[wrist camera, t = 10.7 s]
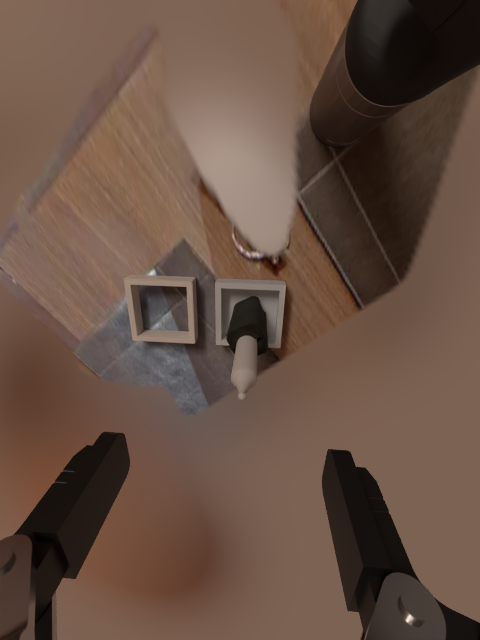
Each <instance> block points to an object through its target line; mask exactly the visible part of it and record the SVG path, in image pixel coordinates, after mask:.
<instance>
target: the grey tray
mask: <svg viewBox="0 0 480 640" xmlns="http://www.w3.org/2000/svg"><path fill="white" fill-rule="evenodd" d="M285 292H286V283H285V281H277V280H252V279H226V278H218V279H217V280H216V282H215V304H216V345H228V346H230V345H229V344H228V342H227V340H226V336H227V332H228V328H229V324H230V321H231V317H232V313H233V309H234V306H235V304H236V303H238V302H240V301H242V300H244V299H247V298H249V297H251V296H256V297H258V298H259V300H260V304H261V306H262V308H263V310H264V312H266V319H267V335H268V348H280V347H281V336H282V325H283V314H284V303H285Z"/></svg>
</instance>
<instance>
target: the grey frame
mask: <svg viewBox="0 0 480 640" xmlns="http://www.w3.org/2000/svg"><path fill="white" fill-rule="evenodd" d="M124 284H125V291H126V297H127V304H128V311H129V318H130V325H131V332H132V339H133V341H152V342H171V343H190V344H195V343H196V340H197V338H198V317H197V293H196V277H175V276H150V275H130V276H128V277H126V278H124ZM138 285H153V286H178V287H187V303H188V322H189V332H184V331H164V330H145V329H143V321H142V313H141V305H140V297H139V289H138Z"/></svg>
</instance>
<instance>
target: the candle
mask: <svg viewBox="0 0 480 640" xmlns="http://www.w3.org/2000/svg"><path fill="white" fill-rule="evenodd" d="M226 340H227V342H228V344H229V345H230V347H231V349H232V351H233V353H234V354H235V357H234V362H233V368H232V374H231V381H232V383H233V385H234V386H235V387H236V388H237V389H238V392H239V395H238V398H239V399H240V400H244V399H246V393H247V391H248V390H249V389H250V388H252V387H253V386H254V385H255V383H256V381H257V356H258V355H260V354H263V353H265V352H266V351H267V349H268V335H267V319H266V312H264V310H263V308H262V306H261V304H260V300H259V298H258V297H256V296H251V297H249V298H247V299H244V300H242V301H240V302H238V303H236V304H235V306H234V309H233V313H232V317H231V321H230V324H229V328H228V332H227V336H226Z"/></svg>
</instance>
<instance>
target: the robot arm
mask: <svg viewBox="0 0 480 640" xmlns="http://www.w3.org/2000/svg"><path fill="white" fill-rule="evenodd" d="M479 64H480V0H358V1H357V3H356V5H355V7H354V10H353V12H352V14H351V16H350V18H349V20H348V22H347V24H346V27H345V28H344V30H343V32H342V35H341V37H340V39H339V41H338V43H337V45H336V47H335V49H334V52H333V54H332V56H331V58H330V60H329V62H328V64H327V66H326V69H325V71H324V74H323V76H322V78H321V80H320V82H319V84H318V86H317V88H316V91H315V93H314V95H313V98H312V101H311V106H310V121H311V125H312V129H313V131H314V133H315V135H316V136H317V137H318V138H319V139H320V140H321V141H322V142H323V143H325V144H327V145H329V146H333V147H344V146H347V145H350V144H352V143H354V142H356V141H357V140H359V139H360V138H362V137H363V136H365V135H366V134H368V133H369V132H370V131H372V130H373V129H375V128H376V127H378V126H379V125H380V124H382V123H383V122H385V121H386V120H388V119H389V118H390V117H392V116H393V115H395V114H396V113H398V112H399V111H400V110H402V109H403V108H405V107H406V106H407V105H409V104H410V103H412V102H413V101H416V100H419V99H421V98H423V97H424V96H426V95H428V94H429V93H431V92H432V91H434V90H436V89H437V88H439V87H440V86H442V85H444V84H445V83H447V82H449V81H451V80H452V79H454V78H456V77H458V76H460V75H461V74H463V73H465V72H467V71H469V70H470V69H472V68H474V67H476V66H478V65H479ZM129 466H130V458H129V453H128V448H127V443H126V438H125V435H124V434H123V433H114V432H103V433H102V434H101V435H100V436H99V438H98V439H97V440H96V442H95V443H94V445H93V446H90V445H87V446H86V447H84V448H83V449H82V450H81V451H79V452H78V453H77V454H76V455H74V456H73V458H72V459H71V460H70V462H69V463H68V464H67V466H66V467H65V468H64V471H63V472H61V473H60V475H59V476H58V477H57V479H56V480H55V483H54V484H52V485H51V487H50V488H49V489H48V491H47V492H46V494H45V495H44V496H43V497H42V499H41V500H40V501H39V503H38V504H37V505H36V507H35V508H34V509H33V511H32V512H31V513H30V515H29V516H28V518H27V519H26V520H25V521H24V523H23V524H22V525H21V527H20V528H19V529H18V530H17V532H16V533H15V534H14V535H12V536H9V537H6V538H4V539H2V540H0V640H57V623H56V622H57V620H56V619H57V618H56V592H55V591H56V589H57V588H58V586H59V584H60V582H61V580H62V578H71V579H76V577H77V575H78V573H79V571H80V569H81V567H82V565H83V563H84V561H85V559H86V557H87V555H88V553H89V551H90V549H91V547H92V545H93V543H94V541H95V539H96V537H97V535H98V533H99V531H100V529H101V527H102V525H103V523H104V521H105V519H106V517H107V515H108V513H109V511H110V509H111V507H112V505H113V503H114V501H115V499H116V497H117V495H118V493H119V491H120V489H121V487H122V485H123V483H124V481H125V479H126V477H127V474H128V471H129ZM322 489H323V496H324V500H325V505H326V510H327V515H328V520H329V524H330V529H331V534H332V539H333V544H334V548H335V553H336V558H337V562H338V567H339V572H340V577H341V581H342V586H343V591H344V596H345V601H346V605H347V610H348V611H354V612H359V614H360V619H361V623H362V627H363V632H362V634H361V637H360V640H480V623H479V622H476V621H474V620H472V619H470V618H468V617H466V616H464V615H462V614H460V613H458V612H456V611H453V610H452V609H450V608H448V607H446V606H445V605H443V604H442V603H440V602H439V601H438V600H437V599H436V598H434V597H433V595H432V594H431V593H430V592H429V590H428V589H426V587H425V586H424V585H423V584H421V582H420V581H419V579H418V578H417V576H416V574H415V572H414V571H413V569H412V566H411V564H410V561H409V559H408V556H407V554H406V551H405V549H404V547H403V544H402V542H401V539H400V537H399V535H398V533H397V530H396V527H395V525H394V523H393V520H392V518H391V515H390V514H389V510H388V508H387V506H386V504H385V501H384V500H383V496H382V493H381V491H380V489H379V486H378V484H377V482H376V480H375V479H374V478H373V477H372V475H371V474H370V473H369V472H368V470H367V469H366V468H361V467H356V466H355V463H354V461H353V458H352V455H351V453H350V452H349V451H346V450H333V449H328V451H327V455H326V460H325V465H324V470H323V476H322Z"/></svg>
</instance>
